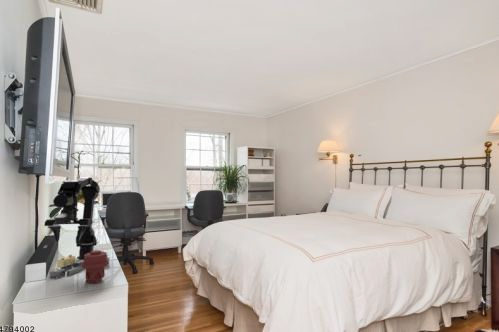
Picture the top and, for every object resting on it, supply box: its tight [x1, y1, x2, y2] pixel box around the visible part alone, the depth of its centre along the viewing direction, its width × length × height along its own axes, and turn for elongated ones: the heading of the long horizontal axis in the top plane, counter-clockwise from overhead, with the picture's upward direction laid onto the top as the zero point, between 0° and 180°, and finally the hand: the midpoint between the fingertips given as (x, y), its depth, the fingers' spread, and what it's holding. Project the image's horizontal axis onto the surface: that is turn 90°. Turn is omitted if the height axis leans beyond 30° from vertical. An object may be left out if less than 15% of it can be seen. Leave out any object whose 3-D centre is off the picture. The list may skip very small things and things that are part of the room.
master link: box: [56, 254, 76, 268], centre depth 139 cm, size 7×4×5 cm, turn 168°
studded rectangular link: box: [49, 259, 85, 279], centre depth 130 cm, size 16×9×3 cm, turn 168°
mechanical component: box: [81, 249, 110, 284], centre depth 119 cm, size 12×10×10 cm
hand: (68, 241), depth 132 cm, fingers open, 9 cm apart
